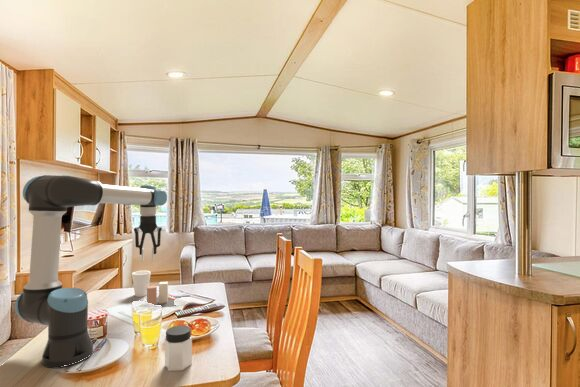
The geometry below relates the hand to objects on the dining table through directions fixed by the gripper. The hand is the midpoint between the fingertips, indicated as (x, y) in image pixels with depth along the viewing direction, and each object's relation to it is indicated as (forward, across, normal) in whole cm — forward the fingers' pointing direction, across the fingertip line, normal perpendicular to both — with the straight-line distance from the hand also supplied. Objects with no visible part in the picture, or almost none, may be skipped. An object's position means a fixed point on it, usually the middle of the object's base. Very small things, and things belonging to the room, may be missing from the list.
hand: (148, 260), depth 172 cm
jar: (+23, -18, +65) cm, 71 cm away
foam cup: (+23, +6, -15) cm, 28 cm away
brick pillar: (+22, -2, +6) cm, 23 cm away
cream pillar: (+22, -8, 0) cm, 23 cm away
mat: (+23, -10, 0) cm, 25 cm away
